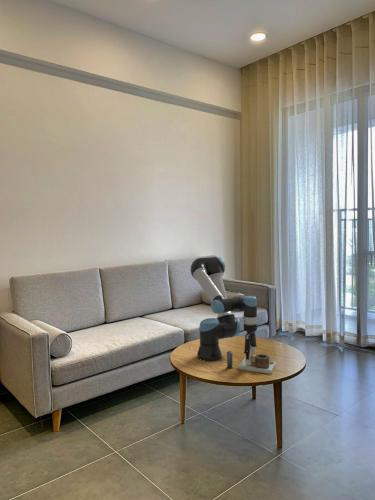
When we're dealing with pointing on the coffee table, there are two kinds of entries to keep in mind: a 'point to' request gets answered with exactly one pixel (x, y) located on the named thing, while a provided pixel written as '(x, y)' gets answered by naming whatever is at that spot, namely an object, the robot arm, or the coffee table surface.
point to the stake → (229, 360)
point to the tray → (251, 368)
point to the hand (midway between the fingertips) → (250, 361)
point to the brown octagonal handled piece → (259, 361)
